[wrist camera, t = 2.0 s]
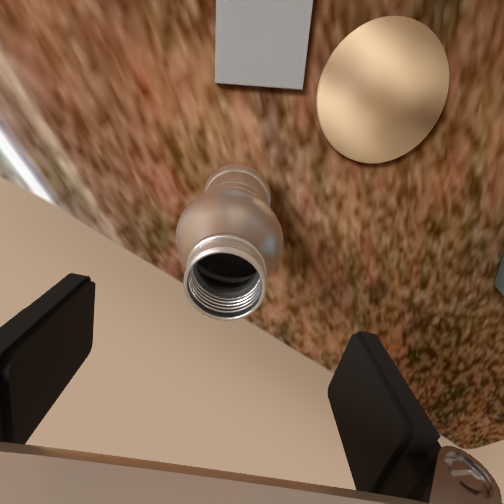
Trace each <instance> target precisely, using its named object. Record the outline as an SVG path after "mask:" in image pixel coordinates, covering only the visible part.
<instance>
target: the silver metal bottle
mask: <svg viewBox="0 0 504 504" xmlns="http://www.w3.org/2000/svg"><path fill="white" fill-rule="evenodd" d="M270 205H271V192H270V188H269V185H268V183H267V181H266V180H265V178H264V177H263V176H262V175H261V174H260V173H259V172H258V171H257V170H255V169H254V168H252V167H250V166H247V165H243V164H228V165H224V166H222V167H220V168H218V169H217V170H216V171H214V172H213V173H212V174H211V176H210V177H209V178H208V180H207V182H206V185H205V189H204V193H203V194H201V195H200V196H199V197H197V198H196V199H195V200H193V201H192V202H191V203H190V204H189V205H188V206H187V207H186V208H185V210H184V211H183V213H182V215H181V216H180V218H179V221H178V225H177V229H176V243H177V248H178V254H179V257H180V259H181V262H182V264H183V265H184V267H185V268H186V271H185V274H184V289H185V293H186V296H187V298H188V300H189V301H190V303H191V304H192V305H193V306H194V307H195V308H196V309H197V310H198V311H200V312H201V313H202V314H204V315H206V316H208V317H210V318H214V319H217V320H225V321H226V320H237V319H241V318H244V317H246V316H248V315H250V314H251V313H253V312H254V311H255V310H256V309H257V308H258V307H259V306H260V304H261V303H262V301H263V299H264V296H265V292H266V279H267V278H268V277H270V276H271V274H272V273H273V271H274V270H275V268H276V267H277V265H278V263H279V260H280V258H281V256H282V251H283V233H282V229H281V225H280V223H279V221H278V219H277V217H276V215H275V213H274V212H273V211H272V209H271V208H270Z"/></svg>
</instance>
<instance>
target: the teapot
mask: <svg viewBox="0 0 504 504" xmlns="http://www.w3.org/2000/svg"><path fill="white" fill-rule="evenodd" d="M500 263H501V264H500V267H499V269H498V272H497V275H496V278H495V286H496V287H497V289H498V290H499V291H500V292H501V293H502V295H503V296H504V256H503V257H502V259H501V262H500Z"/></svg>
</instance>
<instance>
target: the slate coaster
mask: <svg viewBox="0 0 504 504" xmlns="http://www.w3.org/2000/svg"><path fill="white" fill-rule="evenodd" d="M312 5H313V0H216V48H215V83H216V84H227V85H240V86H253V87H266V88H279V89H292V90H302V89H303V81H304V73H305V64H306V56H307V47H308V39H309V30H310V22H311V13H312Z"/></svg>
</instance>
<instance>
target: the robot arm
mask: <svg viewBox="0 0 504 504" xmlns="http://www.w3.org/2000/svg"><path fill="white" fill-rule="evenodd" d="M94 300H95V283H94V282H91V279H90V277H89V276H83V275H78V274H73V273H70V274H68V275H67V276H66V277H65V278H63V279H62V280H61V281H60V282H58V283H57V284H56V285H55V286H53V287H52V288H51V289H50V290H48V291H47V292H46V293H45V294H43V295H42V296H41V297H40V298H38V299H37V300H36V301H34V302H33V303H32V304H31V305H29V306H28V307H26V308H25V309H23V310H22V311H21V312H19V313H18V314H17V315H16V316H14V317H13V318H12V319H10V320H9V321H8V322H7V323H6V324H4V325H3V326H2V327H0V504H502V502H501V494H500V489H499V487H498V485H497V483H496V482H495V480H494V478H493V477H492V476H491V474H490V473H489V472H488V470H487V469H486V468H484V466H483V465H482V464H481V463H479V461H477V460H476V459H475V458H473V457H472V456H471V455H470V454H467V453H466V452H464V451H463V450H461V449H458V448H455V447H452V446H444V447H441V446H440V444H439V443H438V441H437V440H438V439H439V437H440V435H439V433H438V432H437V430H436V429H435V427H434V426H433V424H432V422H431V421H430V419H429V418H428V416H427V415H426V413H425V411H424V410H423V408H422V407H421V405H420V403H419V402H418V400H417V399H416V397H415V396H414V394H413V392H412V391H411V389H410V388H409V386H408V384H407V383H406V381H405V380H404V378H403V377H402V375H401V373H400V372H399V370H398V369H397V367H396V365H395V364H394V362H393V361H392V359H391V358H390V356H389V354H388V353H387V351H386V350H385V348H384V347H383V345H382V343H381V342H380V340H379V339H378V337H377V336H376V335H375V334H372V333H367V332H362V331H358V332H357V333H356V334H353V335H352V336H351V338H350V340H349V343H348V345H347V347H346V349H345V352H344V354H343V356H342V358H341V360H340V363H339V365H338V367H337V369H336V371H335V374H334V376H333V378H332V380H331V383H330V385H329V387H328V398H329V401H330V404H331V408H332V411H333V414H334V418H335V421H336V424H337V427H338V431H339V434H340V437H341V440H342V444H343V447H344V451H345V454H346V457H347V460H348V464H349V467H350V470H351V473H352V477H353V480H354V483H355V487H356V490H351V489H344V488H337V487H330V486H324V485H317V484H310V483H303V482H297V481H289V480H283V479H276V478H269V477H262V476H255V475H247V474H241V473H234V472H227V471H220V470H213V469H206V468H199V467H192V466H185V465H177V464H171V463H163V462H155V461H149V460H141V459H134V458H127V457H119V456H112V455H104V454H97V453H89V452H82V451H75V450H67V449H58V448H50V447H41V446H33V445H24V444H25V443H26V442H27V440H28V439H29V437H30V436H31V435H32V433H33V432H34V430H35V429H36V428H37V426H38V425H39V423H40V422H41V421H42V419H43V418H44V416H45V415H46V414H47V412H48V411H49V410H50V408H51V407H52V405H53V404H54V402H55V401H56V400H57V398H58V397H59V396H60V394H61V393H62V391H63V390H64V388H65V387H66V385H67V384H68V383H69V382H70V380H71V379H72V377H73V376H74V375H75V373H76V372H77V370H78V369H79V368H80V366H81V365H82V363H83V362H84V361H85V359H86V358H87V356H88V355H89V353H90V351H91V348H92V341H93V322H94Z"/></svg>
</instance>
